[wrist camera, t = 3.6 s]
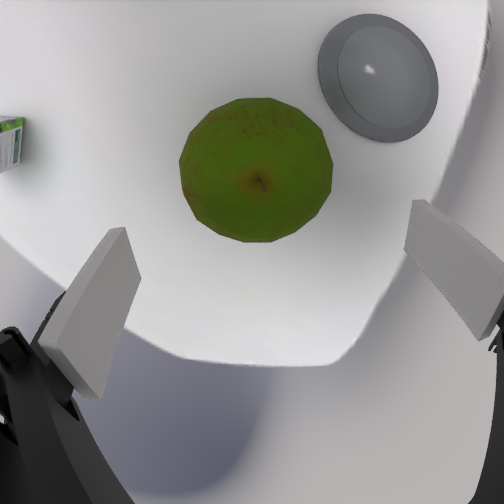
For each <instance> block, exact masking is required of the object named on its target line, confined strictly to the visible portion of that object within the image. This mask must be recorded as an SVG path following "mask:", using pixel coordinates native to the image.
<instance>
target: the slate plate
mask: <svg viewBox="0 0 504 504" xmlns="http://www.w3.org/2000/svg"><path fill="white" fill-rule="evenodd" d="M318 76H319V82H320V85H321V89H322V92H323V94H324V97H325V99H326V101H327V102H328V104H329V106H330V107H331V109H332V110H333V112H334V113H335V114H336V116H337V117H338V118H339V119H340V120H341V121H342V122H343V123H344V124H345V125H346V126H348V127H349V128H351V129H352V130H353V131H355V132H357V133H359V134H361V135H363V136H365V137H368V138H370V139H373V140H377V141H381V142H398V141H403V140H406V139H409V138H411V137H413V136H415V135H416V134H417V133H419V132H420V131H421V130H422V129H423V128H424V127H425V126H426V125H427V123H428V122H429V121H430V119H431V117H432V115H433V113H434V111H435V108H436V104H437V99H438V77H437V72H436V68H435V65H434V62H433V60H432V58H431V56H430V54H429V52H428V50H427V48H426V47H425V45H424V44H423V43H422V41H421V40H420V39H419V38H418V37H417V36H416V35H415V34H414V33H413V32H412V31H411V30H410V29H409V28H407V27H406V26H405V25H403V24H401V23H400V22H398V21H396V20H394V19H392V18H389V17H386V16H382V15H377V14H362V15H357V16H353V17H351V18H348V19H346V20H344V21H342V22H341V23H339V24H338V25H336V26H335V27H334V28H333V29H332V30H331V31H330V32H329V33H328V35H327V36H326V37H325V39H324V41H323V43H322V45H321V48H320V52H319V57H318Z"/></svg>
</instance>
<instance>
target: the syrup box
mask: <svg viewBox="0 0 504 504" xmlns="http://www.w3.org/2000/svg"><path fill="white" fill-rule="evenodd" d="M23 122H24V118H23V117H0V173H2V172H3V171H5V170H7V169H9V168H12V167H14V166H16V165H18V164H19V163H20V161H21V158H20V152H21V141H22V131H23Z"/></svg>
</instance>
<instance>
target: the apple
mask: <svg viewBox="0 0 504 504" xmlns="http://www.w3.org/2000/svg"><path fill="white" fill-rule="evenodd" d="M179 165H180V174H181V183H182V190H183V193H184V196H185V198H186V200H187V202H188V204H189V206H190V208H191V210H192V211H193V213H194V215H195V217H196V219H197V220H198V221H199V222H201V223H202V224H204V225H206V226H207V227H209V228H210V229H212V230H213V231H215V232H216V233H218V234H219V235H222V236H225V237H229V238H232V239H235V240H238V241H241V242H273V241H275V240H278V239H280V238H282V237H285V236H287V235H290V234H292V233H294V232H296V231H297V230H299V229H300V228H301V227H302V226H304V225H305V224H306V223H307V222H309V221H310V220H311V219H312V218H314V217H315V216H316V215H317V213H318V212H319V210H320V209H321V207H322V205H323V204H324V202H325V200H326V199H327V197H328V196H329V194H330V192H331V183H332V170H333V162H332V159H331V156H330V153H329V150H328V147H327V144H326V141H325V139H324V136H323V133H322V130H321V129H320V128H319V127H318V126H317V125H316V124H315V123H314V122H313V121H312V120H311V119H309V118H308V117H307V116H306V115H305V114H304V113H303V112H301V111H300V110H299V109H297V108H295V107H292V106H290V105H287V104H285V103H282V102H280V101H277V100H274V99H272V98H247V99H237V100H235V101H232V102H230V103H228V104H225V105H223V106H221V107H219V108H216V109H214V110H212V111H210V112H209V113H208V114H207V115H206V116H205V117H204V118H203V120H202V121H201V122H200V123H199V124H198V125H197V126H196V127H195V128H194V129H193V130H192V131H191V132H190V134H189V136H188V139H187V141H186V144H185V146H184V149H183V152H182V154H181V157H180V160H179Z"/></svg>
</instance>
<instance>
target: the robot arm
mask: <svg viewBox="0 0 504 504" xmlns="http://www.w3.org/2000/svg"><path fill="white" fill-rule="evenodd" d="M404 251H405V252H406V253H407V254H408V255H409V256H410V257H411V258H412V259H413V260H414V262H415V263H416V264H417V265H418V266H419V267H420V268H421V269H422V271H423V272H424V273H425V274H426V275H427V276H428V278H429V279H430V280H431V281H432V282H433V283H434V285H435V286H436V287H437V288H438V289H439V290H440V292H441V293H442V294H443V295H444V297H445V298H446V299H447V300H448V302H449V303H450V304H451V305H452V307H453V308H454V309H455V311H456V312H457V313H458V314H459V316H460V317H461V318H462V320H463V321H464V322H465V324H466V325H467V326H468V328H469V329H470V330H471V332H472V333H473V335H474V336H475V338H476V339H477V340H478V341H480V340H482V339H484V338H486V337H489V336H490V335H491V333H492V331H493V329H494V328H495V326H496V324H497V325H498V326H499V327H500V330H499V331H498V333H497V335H496V336H495V338H494V340H493V341H492V343H491V344H490V346H489V349H488V351H491V349H492V348H493V346H494V345H497V346H496V348H495V349H494V351H493V352H495V353H497V375H496V392H495V402H494V412H493V419H492V426H491V432H490V438H489V443H488V448H487V452H486V457H485V461H484V465H483V469H482V473H481V476H480V480H479V483H478V486H477V489H476V492H475V495H474V497H473V498H472V500H471V501H470V502H469V503H468V504H504V262H503V261H501V260H500V259H499V258H498V257H497V256H496V255H495V254H494V253H493V252H491V251H490V250H489V249H488V248H487V247H486V246H484V245H483V244H482V243H481V242H480V241H479V240H477V239H476V238H475V237H474V236H472V235H471V234H470V233H469V232H468V231H466V230H465V229H464V228H463V227H461V226H460V225H459V224H457V223H456V222H455V221H454V220H452V219H451V218H449V217H448V216H447V215H446V214H444V213H443V212H441V211H440V210H439V209H437V208H436V207H434V206H433V205H431V204H430V203H429V202H427V201H426V200H413V201H412V208H411V214H410V220H409V225H408V231H407V236H406V241H405V246H404ZM140 281H141V276H140V273H139V270H138V267H137V264H136V261H135V258H134V255H133V252H132V249H131V246H130V242H129V239H128V236H127V232H126V229H125V227H120V228H113V229H110V230H109V231H108V232H107V234H106V235H105V236H104V238H103V239H102V240H101V242H100V243H99V244H98V246H97V247H96V248H95V250H94V251H93V253H92V254H91V255H90V257H89V258H88V260H87V261H86V263H85V264H84V265H83V267H82V268H81V270H80V271H79V273H78V274H77V276H76V277H75V279H74V280H73V282H72V284H71V285H70V287H69V288H68V290H67V291H65V292H64V293H63V294H62V295H60V296H59V298H57V299H56V300H55V302H54V304H53V305H52V307H51V309H50V312H48V314H47V315H46V317H45V320H44V321H43V322H42V324H41V326H40V327H39V329H38V331H37V333H36V335H35V336H34V338H33V340H32V342H31V344H30V345H29V344H28V342H27V341H26V340H25V338H24V337H23V335H22V334H21V332H20V331H19V329H18V328H16V327H7V328H5V329H3V330H2V331H1V332H0V414H1V415H2V416H3V417H4V424H3V423H1V422H0V504H135V503H134V502H133V500H132V499H131V498H130V496H129V495H128V494H127V492H126V491H125V489H124V488H123V486H122V485H121V483H120V482H119V481H118V479H117V478H116V476H115V474H114V473H113V471H112V470H111V468H110V466H109V465H108V463H107V461H106V460H105V458H104V456H103V455H102V453H101V452H100V449H99V447H98V446H97V444H96V442H95V440H94V438H93V436H92V434H91V433H90V430H89V428H88V426H87V424H86V422H85V420H84V418H83V416H82V414H81V412H80V410H79V407H78V405H77V403H76V401H75V400H74V398H73V397H72V396H71V395H72V392H73V389H74V388H75V389H76V391H77V392H78V393H79V394H80V395H81V396H82V397H83V398H89V399H97V400H101V399H102V395H103V391H104V388H105V384H106V381H107V377H108V374H109V370H110V367H111V364H112V361H113V357H114V354H115V351H116V348H117V345H118V341H119V338H120V336H121V333H122V330H123V327H124V324H125V321H126V318H127V315H128V313H129V310H130V307H131V304H132V302H133V299H134V296H135V294H136V291H137V289H138V286H139V283H140Z"/></svg>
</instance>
